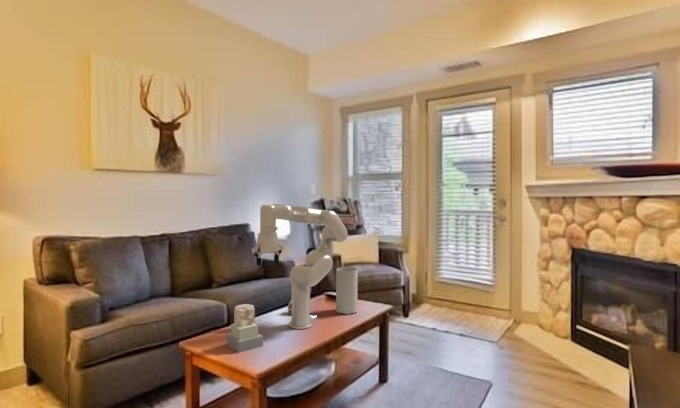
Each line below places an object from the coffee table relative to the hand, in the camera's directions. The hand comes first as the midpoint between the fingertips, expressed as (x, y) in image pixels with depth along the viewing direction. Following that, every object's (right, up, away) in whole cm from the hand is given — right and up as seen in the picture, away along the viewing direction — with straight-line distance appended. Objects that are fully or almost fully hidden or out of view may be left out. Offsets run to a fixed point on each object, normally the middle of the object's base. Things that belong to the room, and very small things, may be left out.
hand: (267, 264), depth 204 cm
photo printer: (-13, -34, +8) cm, 38 cm away
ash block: (-8, -25, -15) cm, 30 cm away
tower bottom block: (-8, -35, -15) cm, 39 cm away
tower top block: (-8, -30, -15) cm, 35 cm away
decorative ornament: (+9, -34, +36) cm, 50 cm away
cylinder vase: (+39, -34, +41) cm, 66 cm away
